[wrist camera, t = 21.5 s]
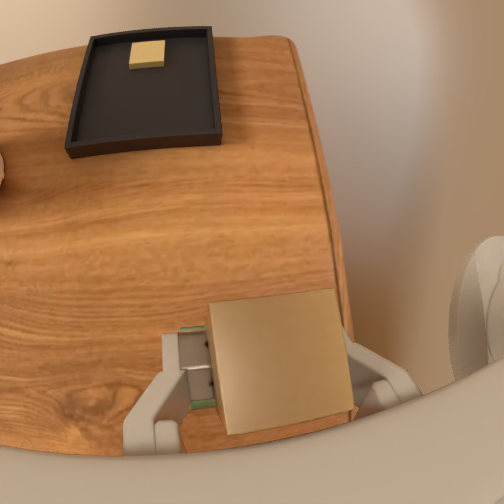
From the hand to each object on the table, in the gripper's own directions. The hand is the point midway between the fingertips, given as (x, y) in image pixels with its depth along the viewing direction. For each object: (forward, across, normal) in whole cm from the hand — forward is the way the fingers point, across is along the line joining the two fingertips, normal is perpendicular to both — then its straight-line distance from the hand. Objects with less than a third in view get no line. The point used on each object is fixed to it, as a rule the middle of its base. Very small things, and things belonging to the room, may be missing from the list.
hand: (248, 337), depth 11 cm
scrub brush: (+2, 0, +4) cm, 5 cm away
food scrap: (+33, +5, -11) cm, 35 cm away
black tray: (+30, +5, -7) cm, 31 cm away
